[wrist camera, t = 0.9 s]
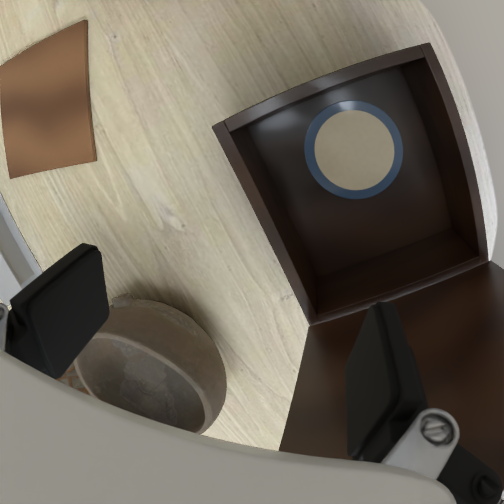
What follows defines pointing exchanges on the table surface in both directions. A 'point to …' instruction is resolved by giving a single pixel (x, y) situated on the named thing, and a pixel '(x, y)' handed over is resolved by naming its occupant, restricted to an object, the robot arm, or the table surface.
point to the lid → (428, 361)
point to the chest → (368, 209)
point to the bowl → (155, 365)
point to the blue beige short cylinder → (353, 149)
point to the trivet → (48, 104)
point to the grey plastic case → (14, 258)
